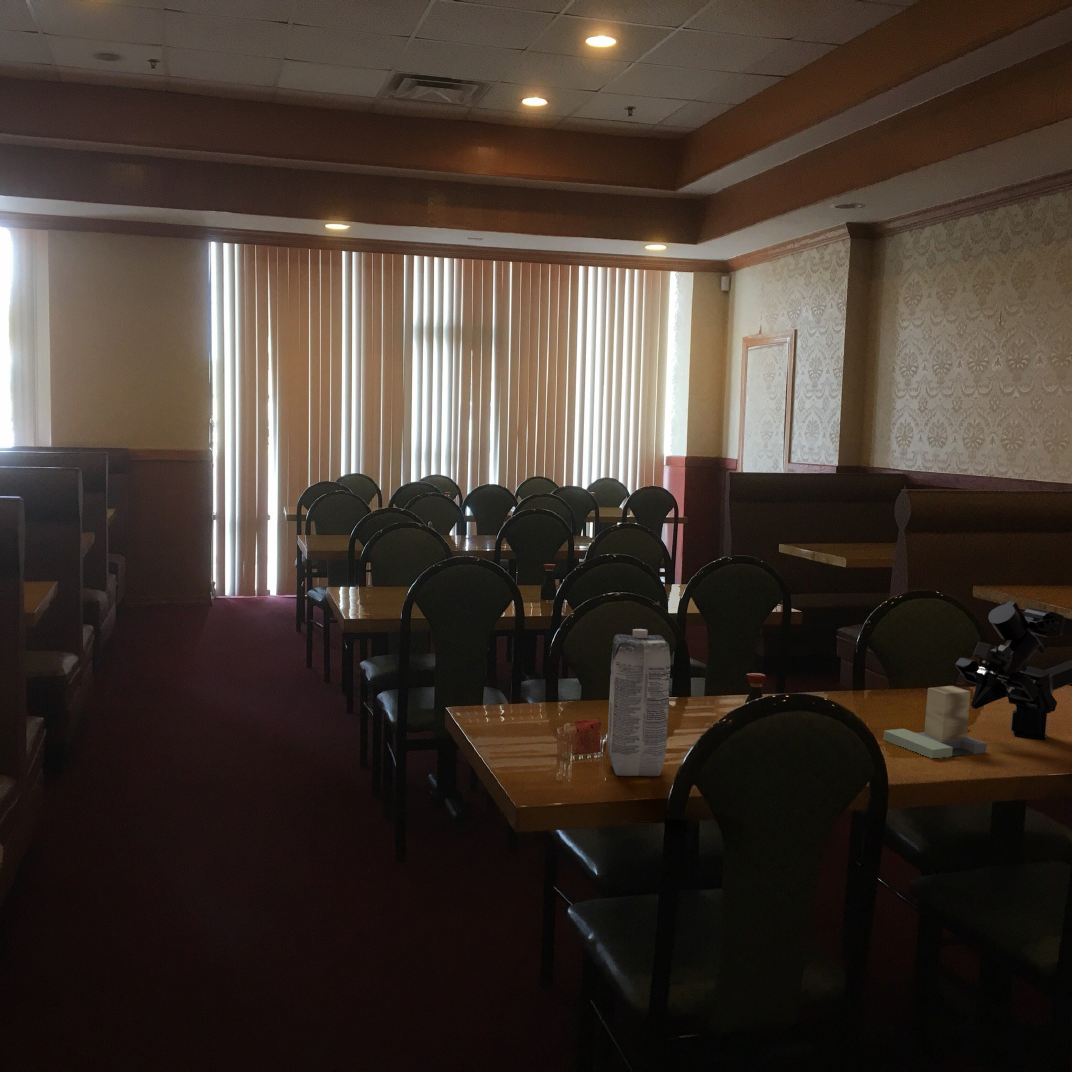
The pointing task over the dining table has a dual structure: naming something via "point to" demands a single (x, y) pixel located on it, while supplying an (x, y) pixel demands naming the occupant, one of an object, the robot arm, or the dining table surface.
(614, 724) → the juice carton
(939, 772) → the dining table surface
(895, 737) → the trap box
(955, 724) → the maple block
